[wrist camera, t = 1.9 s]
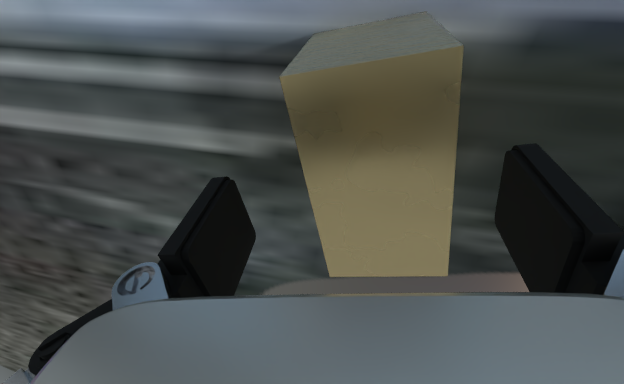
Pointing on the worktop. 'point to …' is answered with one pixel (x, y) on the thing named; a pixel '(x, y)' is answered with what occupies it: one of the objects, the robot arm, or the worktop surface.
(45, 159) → the worktop surface
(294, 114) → the brass block
